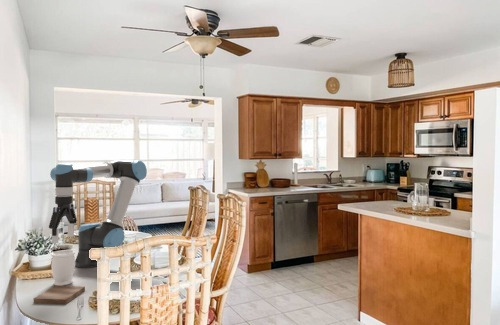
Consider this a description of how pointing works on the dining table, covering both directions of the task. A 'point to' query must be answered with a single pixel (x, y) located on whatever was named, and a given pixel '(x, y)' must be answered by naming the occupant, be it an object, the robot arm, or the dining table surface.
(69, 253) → the jar
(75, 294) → the board
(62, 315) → the dining table surface
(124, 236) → the robot arm
